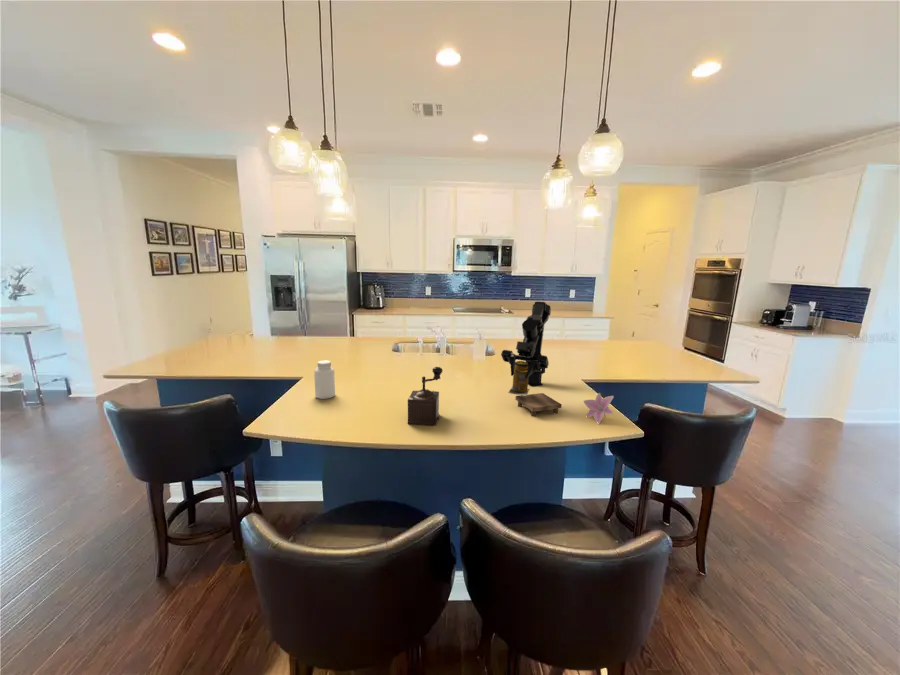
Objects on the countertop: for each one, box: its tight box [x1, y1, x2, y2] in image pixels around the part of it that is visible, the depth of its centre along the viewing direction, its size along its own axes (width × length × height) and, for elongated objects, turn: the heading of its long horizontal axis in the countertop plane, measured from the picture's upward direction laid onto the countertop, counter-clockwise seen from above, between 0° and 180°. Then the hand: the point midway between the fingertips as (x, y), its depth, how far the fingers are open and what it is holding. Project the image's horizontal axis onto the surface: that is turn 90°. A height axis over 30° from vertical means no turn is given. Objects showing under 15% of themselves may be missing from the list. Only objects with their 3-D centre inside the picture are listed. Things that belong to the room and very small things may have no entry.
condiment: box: [507, 360, 531, 396], centre depth 149 cm, size 7×8×12 cm
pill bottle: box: [313, 359, 336, 400], centre depth 156 cm, size 8×8×15 cm
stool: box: [514, 392, 563, 418], centre depth 149 cm, size 13×13×4 cm
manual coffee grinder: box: [407, 366, 443, 427], centre depth 138 cm, size 16×11×18 cm
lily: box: [583, 392, 615, 424], centre depth 141 cm, size 12×12×10 cm
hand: (519, 376), depth 147 cm, fingers closed on condiment, 6 cm apart
